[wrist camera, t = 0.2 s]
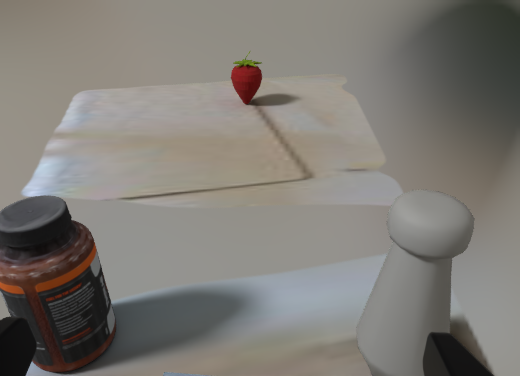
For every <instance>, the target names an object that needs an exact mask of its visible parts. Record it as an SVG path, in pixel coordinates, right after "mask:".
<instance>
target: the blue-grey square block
mask: <svg viewBox="0 0 520 376" xmlns="http://www.w3.org/2000/svg"><path fill="white" fill-rule="evenodd" d="M163 376H208V375H195V374H182V373H169V372H164V374H163Z"/></svg>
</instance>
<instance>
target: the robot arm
mask: <svg viewBox="0 0 520 376" xmlns="http://www.w3.org/2000/svg"><path fill="white" fill-rule="evenodd" d="M36 349H37V341H36V339H35V336H34V334H33V332H32V329H31V327H30V325H29V322H28V321H27V319H25V318H24V317H6V318H3V319H2V320H0V376H25V375H26V373H27V371H28V369H29V366H30V364H31V362H32V360H33V357H34V355H35V352H36ZM423 371H424V376H494V375H493V374H492V373H491V372H490V371H489V370H488V369H487V368H486V367H485V366H484V365H483V364H482V363H481V362H480V361H479V360H477V359H476V358H475V357H474V356H473V355H472V354H471V353H470V352H469V351H468V350H467V349H466V348H465V347H464V346H463V345H462V344H461V343H460V342H459V341H458V340H457V339H456V338H455V337H454V336H453V335H452V334H450V333H447V332H430V333H429V334H428V337H427V341H426V346H425V350H424V355H423Z"/></svg>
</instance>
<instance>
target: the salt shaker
mask: <svg viewBox="0 0 520 376" xmlns="http://www.w3.org/2000/svg"><path fill="white" fill-rule="evenodd" d="M387 227H388V231H389V235H390V238H391V239H392V240H393V242H392V245H391V247H390V249H389V252H388V254H387V256H386V259H385V261H384V263H383V266H382V268H381V270H380V273H379V275H378V278H377V280H376V282H375V285H374V287H373V289H372V292H371V294H370V296H369V299H368V301H367V303H366V306H365V308H364V310H363V313H362V315H361V317H360V320H359V322H358V324H357V327H356V328H357V341H358V348H359V350H360V352H361V354H362V355H363V357H364V359H365V360H366V362H367V364H368V366H369V368H370V371H371V373H372V376H424V371H423V355H424V350H425V346H426V341H427V337H428V334H429V333H430V332H447V333H450V303H451V267H452V258H453V257H455V256H457V255H459V254H461V253H463V252H464V251H465V250H466V249H467V247H468V244H469V242H470V240H471V237H472V233H473V229H474V217H473V215H472V214H471V212H470V210H469V209H468V208H467V206H466V205H465V204H464V203H462V202H461V201H459V200H458V199H456V198H454V197H453V196H450V195H447V194H445V193H442V192H438V191H431V190H412V191H409V192H407V193H404V194H402V195H400V196H398V197H397V198H396V199H395V201H394V202H393V204H392V205H391V208H390V211H389V213H388V217H387Z"/></svg>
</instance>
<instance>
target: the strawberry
mask: <svg viewBox="0 0 520 376" xmlns="http://www.w3.org/2000/svg"><path fill="white" fill-rule="evenodd" d="M249 53H250V52H249ZM246 57H247V56H246ZM234 64H240V65H238V66H235V67H234V68H233V70H232V75H231V79H232V83H233V86H234V88H235V90H236V92H237V94H238V95H239V97H240V98H241V99H242V101H243V103H245V104H248V103H249V102H250V101H251V99H252V98H253V96H254V95H255V94H256V92H257V90H258V89H259V87H260V84H261V80H262V74H261V70H260V69H259V67H258V66H256V65H255V64H261V62H255V61H254V62H252V60H246V59H245V60H244V59H243V61H237V62H235V63H234Z"/></svg>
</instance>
